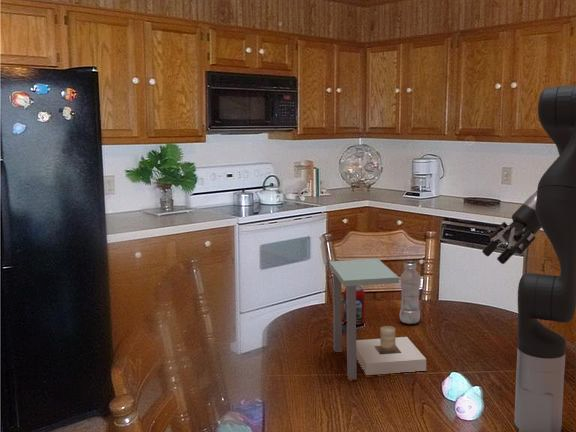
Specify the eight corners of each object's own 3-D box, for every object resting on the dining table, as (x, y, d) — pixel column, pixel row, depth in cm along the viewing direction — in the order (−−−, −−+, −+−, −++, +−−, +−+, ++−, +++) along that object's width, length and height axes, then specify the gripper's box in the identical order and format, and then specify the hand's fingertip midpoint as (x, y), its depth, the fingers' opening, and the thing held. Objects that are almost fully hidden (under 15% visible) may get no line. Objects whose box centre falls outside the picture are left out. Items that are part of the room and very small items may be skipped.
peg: (392, 365, 157) (392, 332, 155) (378, 362, 159) (378, 329, 157) (397, 360, 160) (397, 327, 158) (383, 357, 162) (383, 325, 160)
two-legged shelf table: (377, 347, 169) (377, 258, 165) (398, 377, 149) (399, 277, 145) (330, 351, 168) (329, 261, 163) (345, 381, 148) (343, 280, 144)
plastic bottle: (395, 321, 190) (395, 261, 187) (412, 318, 193) (412, 259, 190) (407, 327, 184) (407, 266, 181) (424, 324, 187) (425, 263, 184)
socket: (406, 348, 168) (406, 336, 167) (426, 371, 152) (426, 359, 152) (352, 352, 166) (352, 340, 166) (366, 376, 151) (366, 363, 150)
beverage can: (340, 325, 188) (340, 289, 186) (348, 318, 194) (348, 283, 192) (360, 328, 185) (360, 291, 183) (367, 321, 191) (367, 286, 189)
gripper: (511, 199, 160) (470, 243, 160) (540, 207, 146) (495, 254, 146) (529, 218, 161) (488, 260, 162) (559, 227, 147) (514, 274, 148)
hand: (492, 257), depth 154 cm, fingers open, 8 cm apart
